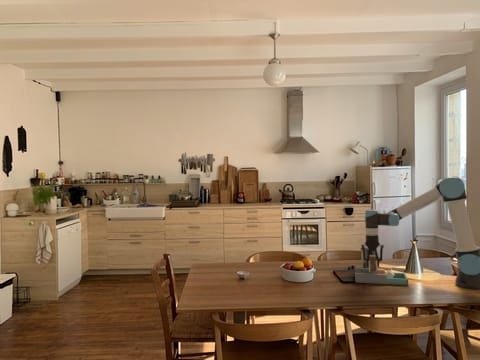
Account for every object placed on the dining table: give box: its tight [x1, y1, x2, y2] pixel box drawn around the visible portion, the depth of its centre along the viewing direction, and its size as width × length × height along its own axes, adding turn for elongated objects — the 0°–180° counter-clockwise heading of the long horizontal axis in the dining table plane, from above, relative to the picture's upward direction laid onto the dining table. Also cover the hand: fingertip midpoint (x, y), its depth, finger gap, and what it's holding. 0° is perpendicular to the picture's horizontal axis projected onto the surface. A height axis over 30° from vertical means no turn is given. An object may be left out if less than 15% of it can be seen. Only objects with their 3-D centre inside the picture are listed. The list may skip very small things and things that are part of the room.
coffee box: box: [360, 247, 377, 268], centre depth 245 cm, size 9×6×16 cm
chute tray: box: [385, 271, 409, 286], centre depth 222 cm, size 12×14×4 cm
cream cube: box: [385, 269, 395, 278], centre depth 223 cm, size 4×4×4 cm
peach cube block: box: [377, 267, 385, 274], centre depth 225 cm, size 4×4×4 cm
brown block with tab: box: [370, 255, 376, 274], centre depth 226 cm, size 4×8×12 cm, turn 162°
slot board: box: [354, 267, 388, 285], centre depth 227 cm, size 18×14×6 cm
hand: (373, 271), depth 226 cm, fingers closed on brown block with tab, 3 cm apart
